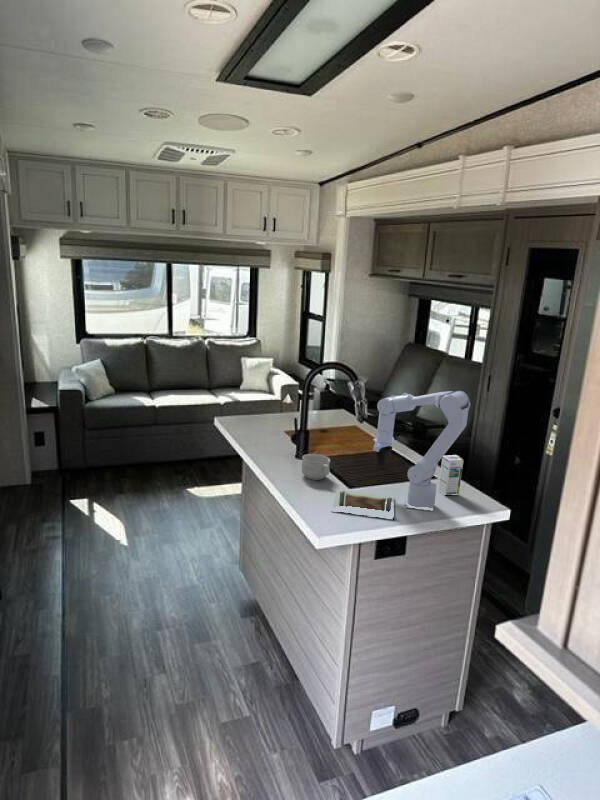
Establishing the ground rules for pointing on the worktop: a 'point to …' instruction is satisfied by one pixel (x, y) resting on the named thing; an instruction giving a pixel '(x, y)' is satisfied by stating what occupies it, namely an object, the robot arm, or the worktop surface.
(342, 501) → the dark gray metal cylinder
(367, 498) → the wooden block
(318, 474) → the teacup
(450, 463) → the syrup box
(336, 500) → the gate mat
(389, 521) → the worktop surface
